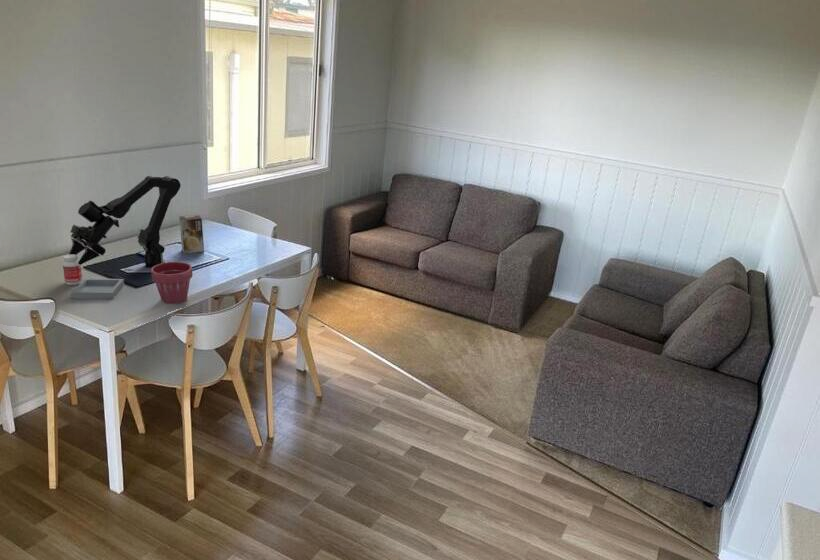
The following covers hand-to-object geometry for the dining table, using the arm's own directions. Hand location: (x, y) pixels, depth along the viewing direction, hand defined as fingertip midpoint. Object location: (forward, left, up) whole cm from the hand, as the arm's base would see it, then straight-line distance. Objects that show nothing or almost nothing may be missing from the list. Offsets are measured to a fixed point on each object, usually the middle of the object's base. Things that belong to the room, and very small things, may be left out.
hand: (74, 261), depth 240 cm
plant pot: (-40, +17, -9) cm, 45 cm away
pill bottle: (+1, +1, -9) cm, 9 cm away
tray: (-11, +10, -9) cm, 17 cm away
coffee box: (-36, -41, -9) cm, 56 cm away
